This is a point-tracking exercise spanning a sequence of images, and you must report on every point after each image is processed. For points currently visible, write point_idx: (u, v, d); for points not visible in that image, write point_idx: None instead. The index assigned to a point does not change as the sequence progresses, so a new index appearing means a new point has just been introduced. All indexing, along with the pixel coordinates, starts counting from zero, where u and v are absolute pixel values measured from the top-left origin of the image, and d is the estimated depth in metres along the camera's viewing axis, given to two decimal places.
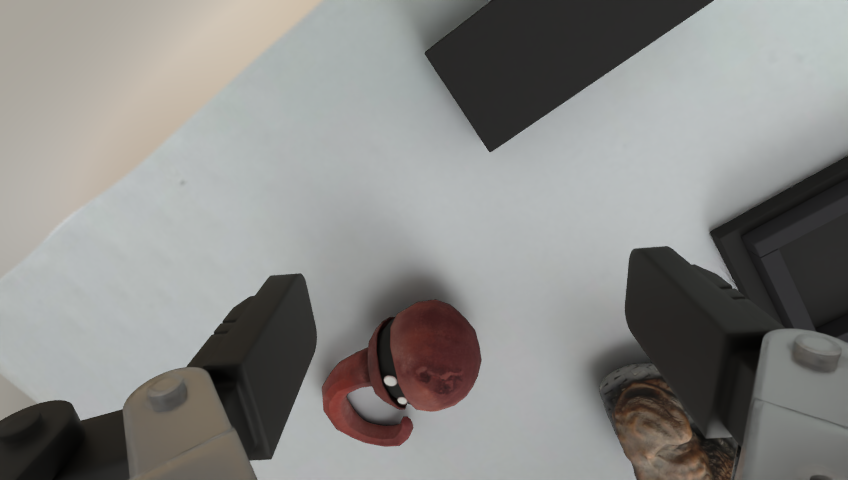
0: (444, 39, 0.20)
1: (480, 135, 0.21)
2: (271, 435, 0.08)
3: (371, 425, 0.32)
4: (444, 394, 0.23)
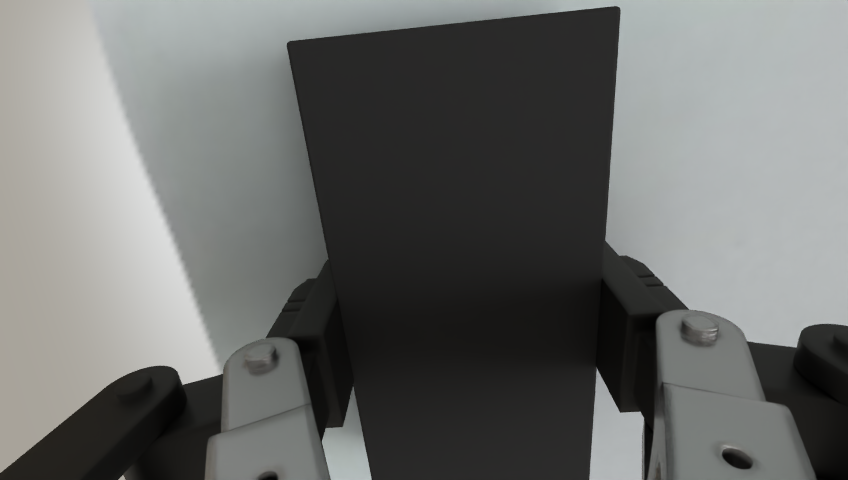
0: None
1: None
2: (342, 404, 0.09)
3: None
4: None
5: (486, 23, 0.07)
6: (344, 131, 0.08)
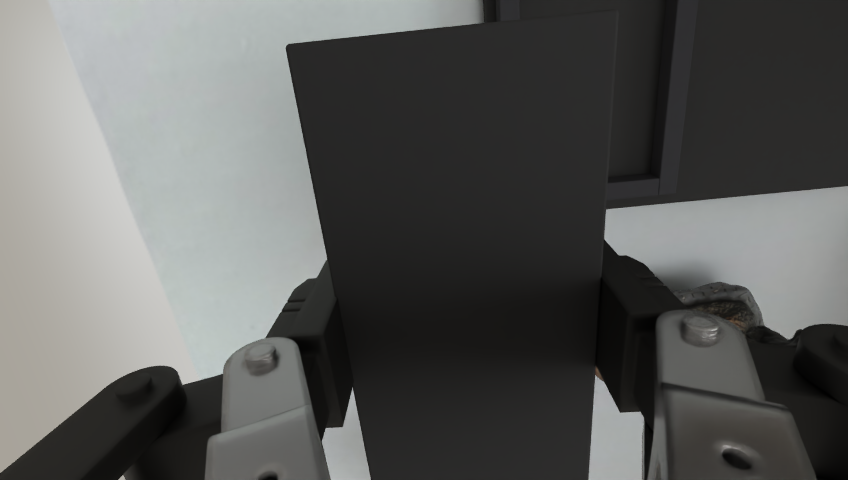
0: None
1: None
2: (342, 405, 0.09)
3: None
4: None
5: (484, 26, 0.07)
6: (342, 133, 0.08)
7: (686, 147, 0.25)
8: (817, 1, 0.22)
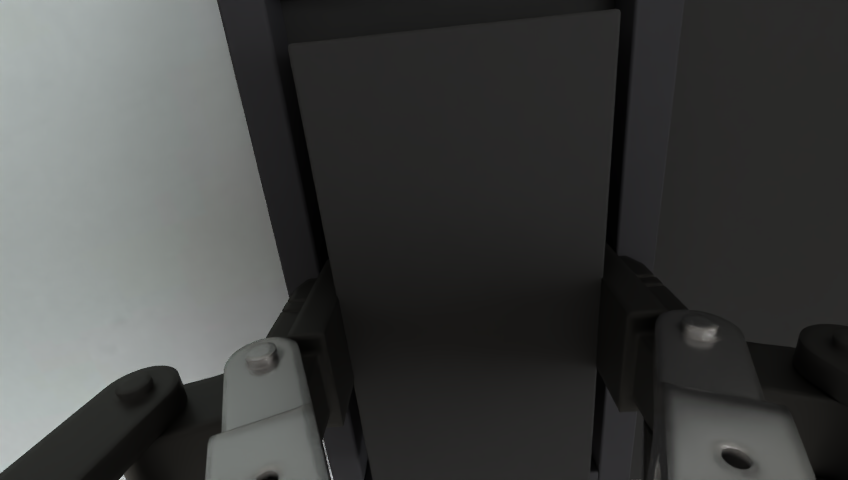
0: None
1: None
2: (342, 404, 0.09)
3: None
4: None
5: (487, 25, 0.07)
6: (345, 133, 0.08)
7: None
8: None
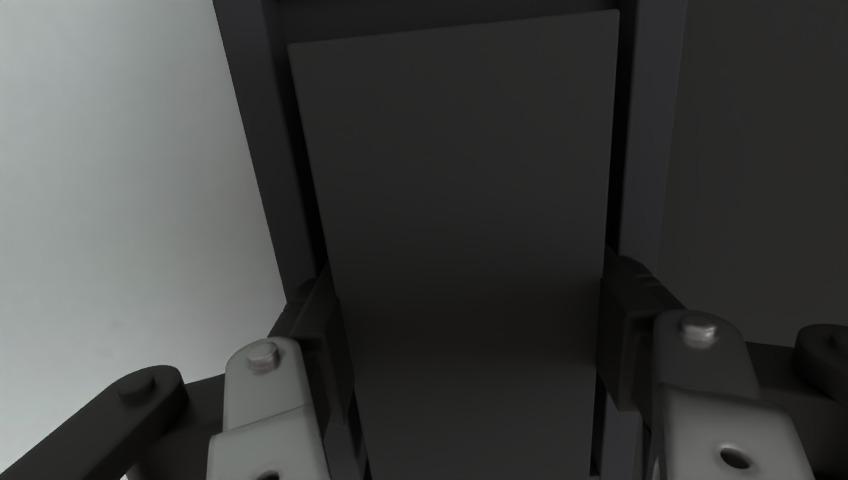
0: None
1: None
2: (343, 404, 0.09)
3: None
4: None
5: (486, 26, 0.07)
6: (344, 133, 0.08)
7: None
8: None
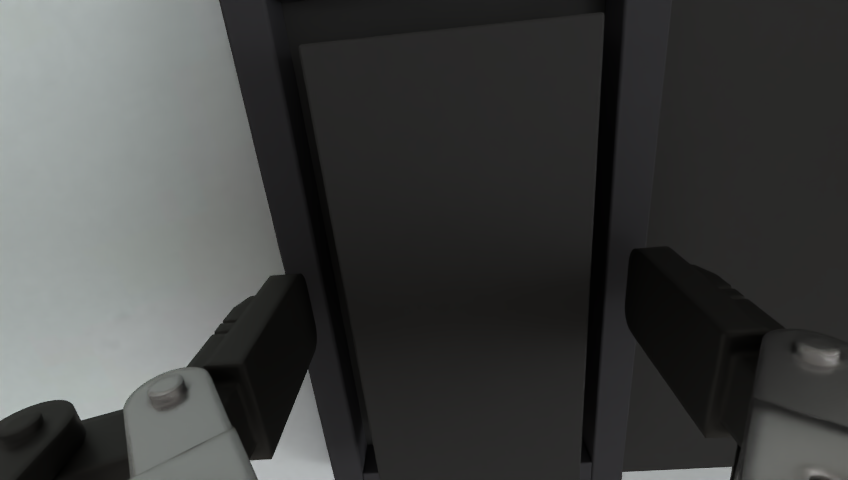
0: (381, 477, 0.12)
1: None
2: (272, 435, 0.08)
3: None
4: None
5: (482, 28, 0.08)
6: (351, 127, 0.09)
7: (641, 401, 0.15)
8: None
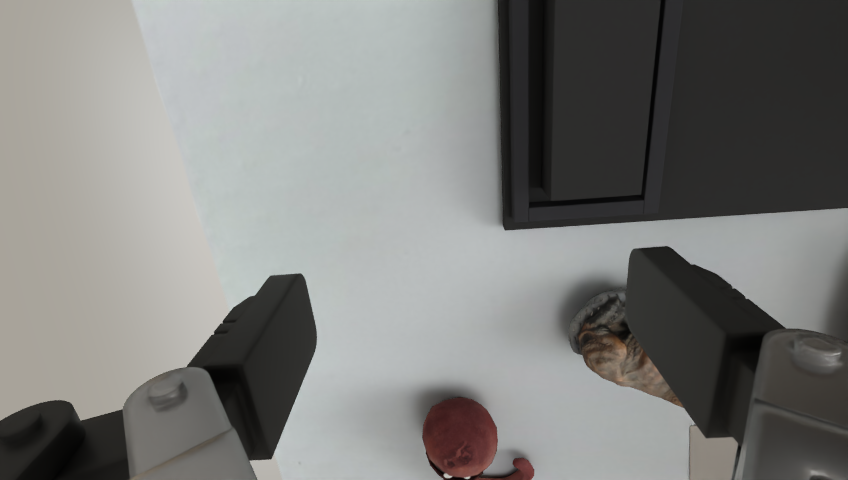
0: (552, 185, 0.27)
1: (625, 194, 0.27)
2: (271, 435, 0.08)
3: (510, 476, 0.42)
4: (469, 462, 0.34)
5: None
6: (568, 13, 0.24)
7: (668, 174, 0.30)
8: (779, 57, 0.27)
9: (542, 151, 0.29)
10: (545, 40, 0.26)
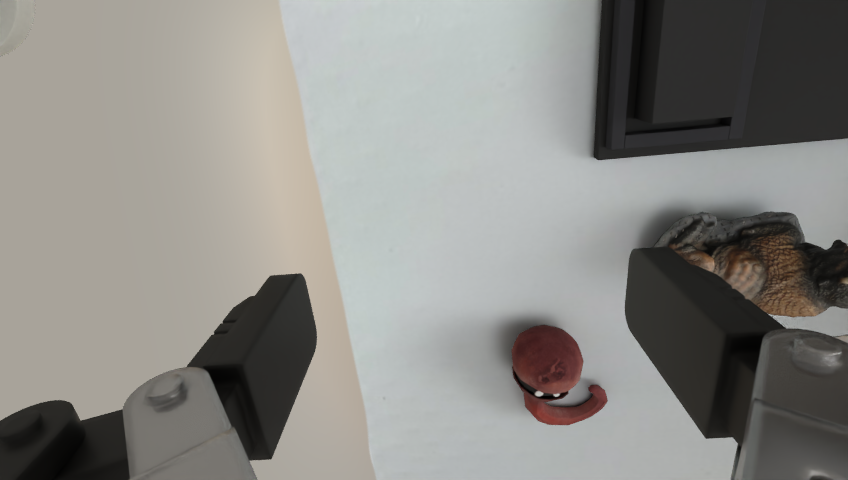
0: (654, 108, 0.30)
1: (719, 117, 0.30)
2: (271, 435, 0.08)
3: (583, 405, 0.45)
4: (563, 377, 0.37)
5: None
6: None
7: (750, 103, 0.33)
8: None
9: (639, 82, 0.32)
10: None
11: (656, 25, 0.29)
